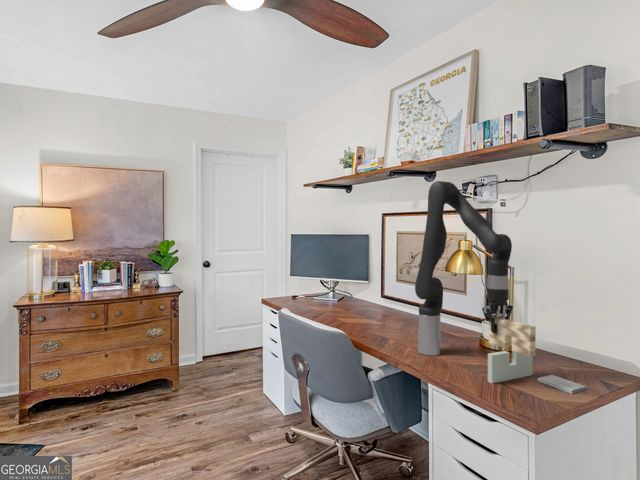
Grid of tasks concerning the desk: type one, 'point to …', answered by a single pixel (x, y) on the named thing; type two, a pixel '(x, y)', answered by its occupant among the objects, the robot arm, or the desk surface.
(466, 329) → the desk surface
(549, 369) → the desk surface
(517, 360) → the slotted plate
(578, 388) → the hard drive
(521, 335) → the pale wooden plank
